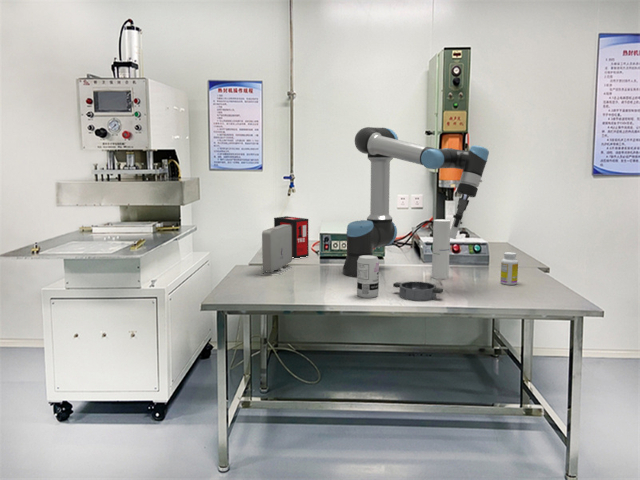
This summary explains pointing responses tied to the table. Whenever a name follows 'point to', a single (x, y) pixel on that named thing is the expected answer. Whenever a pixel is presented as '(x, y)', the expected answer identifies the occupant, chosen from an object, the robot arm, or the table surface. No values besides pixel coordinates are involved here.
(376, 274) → the supplement can
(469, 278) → the table surface
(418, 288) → the cooker pot
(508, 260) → the supplement bottle
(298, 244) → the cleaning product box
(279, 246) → the network device
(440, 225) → the cylindrical container
